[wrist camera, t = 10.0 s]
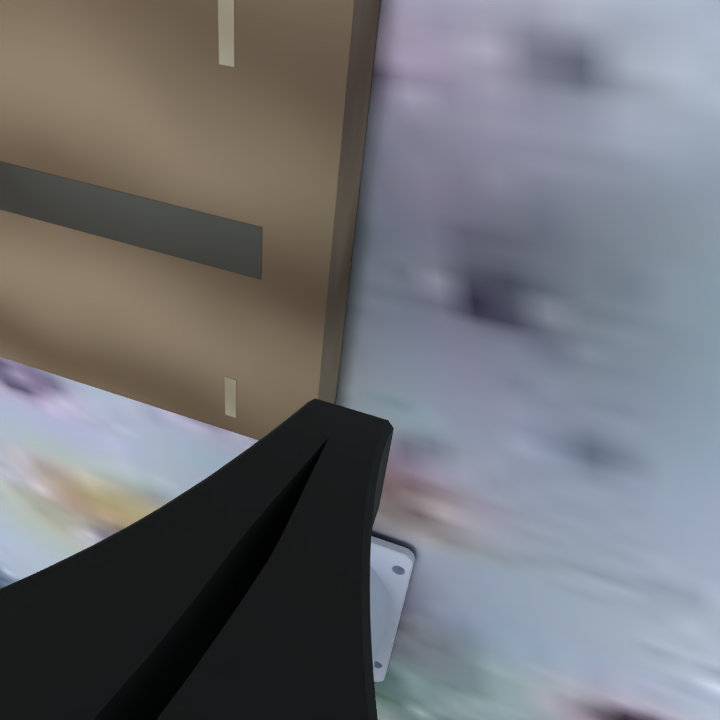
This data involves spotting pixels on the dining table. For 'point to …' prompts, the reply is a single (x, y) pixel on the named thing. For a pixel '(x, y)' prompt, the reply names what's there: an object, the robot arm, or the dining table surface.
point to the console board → (183, 197)
